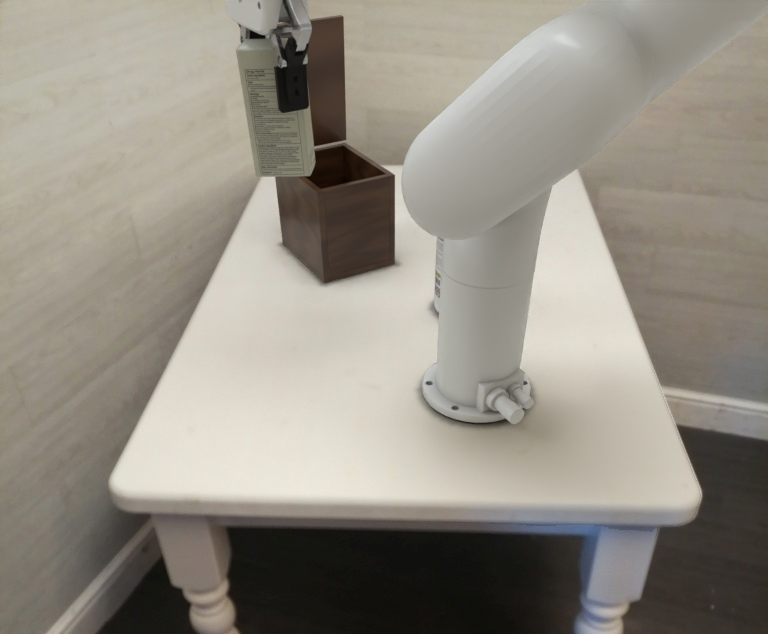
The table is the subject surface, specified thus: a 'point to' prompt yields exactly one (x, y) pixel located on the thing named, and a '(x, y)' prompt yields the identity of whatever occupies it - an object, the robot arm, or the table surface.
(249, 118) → the cosmetic box
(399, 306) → the table surface
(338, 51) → the lid
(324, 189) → the chest
